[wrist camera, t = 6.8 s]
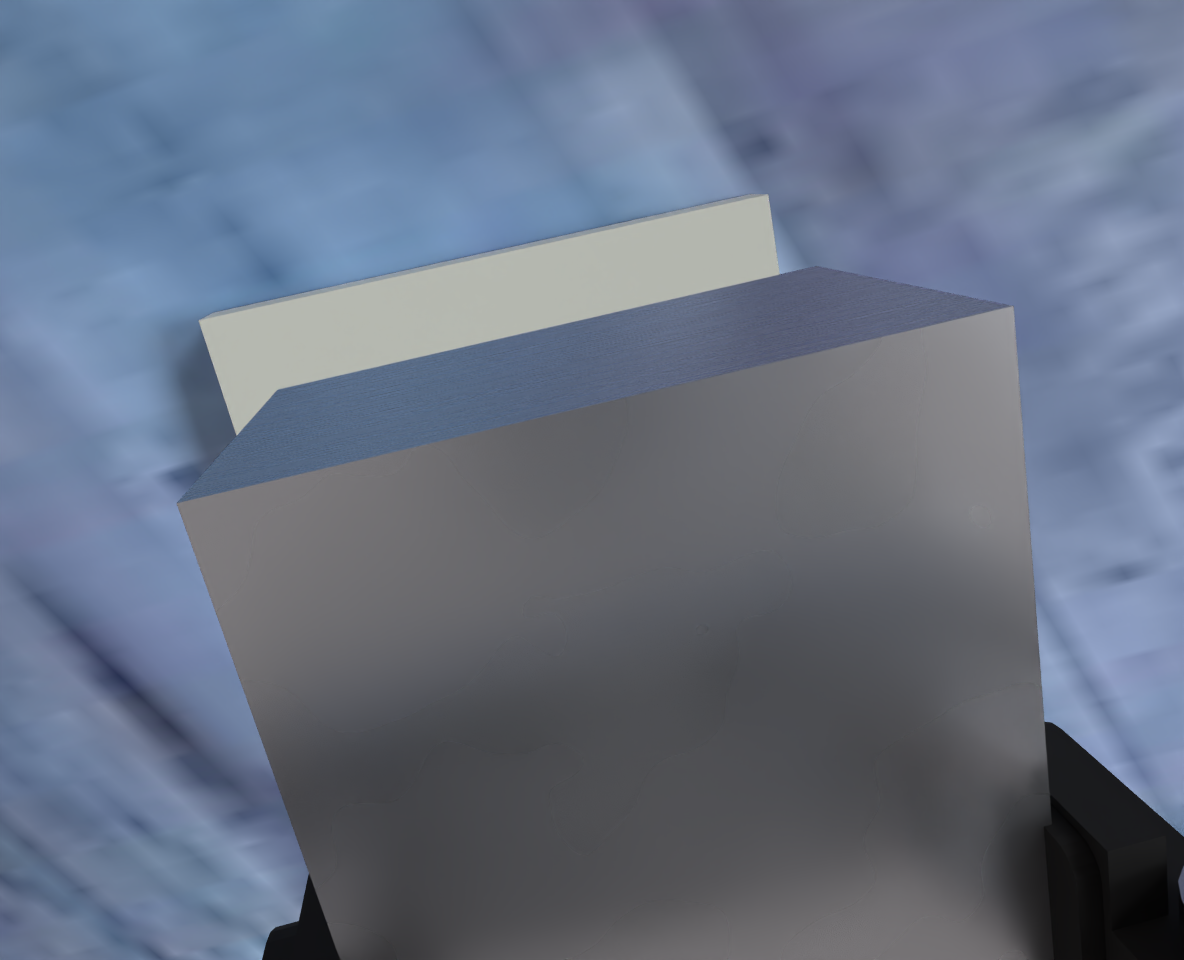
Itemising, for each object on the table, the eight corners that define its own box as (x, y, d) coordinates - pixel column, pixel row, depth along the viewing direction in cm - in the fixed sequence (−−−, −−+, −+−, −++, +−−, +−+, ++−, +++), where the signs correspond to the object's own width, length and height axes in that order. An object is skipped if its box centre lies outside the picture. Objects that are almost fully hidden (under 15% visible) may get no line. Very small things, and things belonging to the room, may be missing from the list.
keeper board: (213, 312, 25) (114, 364, 17) (750, 193, 25) (865, 196, 18) (383, 836, 29) (360, 1044, 22) (828, 721, 30) (943, 884, 23)
